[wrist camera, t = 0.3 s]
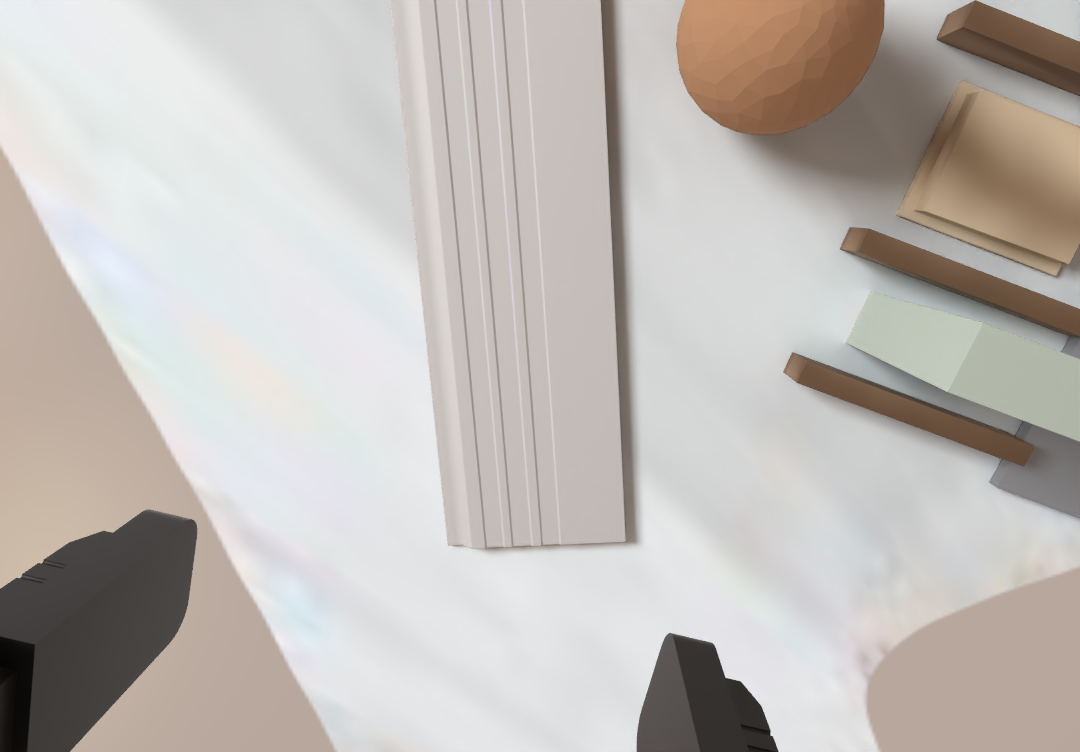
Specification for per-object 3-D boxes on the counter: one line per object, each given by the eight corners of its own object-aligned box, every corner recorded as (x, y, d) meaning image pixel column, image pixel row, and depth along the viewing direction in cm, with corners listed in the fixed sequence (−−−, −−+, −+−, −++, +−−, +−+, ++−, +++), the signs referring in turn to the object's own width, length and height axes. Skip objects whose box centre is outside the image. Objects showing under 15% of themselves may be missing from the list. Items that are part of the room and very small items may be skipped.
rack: (947, 14, 36) (975, 0, 33) (1184, 108, 36) (1229, 101, 34) (783, 372, 40) (797, 382, 38) (996, 451, 41) (1024, 466, 38)
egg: (658, 143, 38) (694, 115, 27) (668, -32, 36) (711, -139, 25) (819, 146, 37) (922, 119, 26) (838, -31, 35) (957, -138, 24)
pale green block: (870, 291, 39) (983, 322, 28) (1005, 342, 39) (1168, 392, 28) (845, 342, 40) (947, 392, 29) (978, 392, 40) (1128, 459, 29)
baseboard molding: (426, 539, 44) (624, 530, 43) (417, 562, 41) (628, 552, 40) (363, -18, 37) (597, -38, 36) (347, -36, 34) (600, -59, 34)
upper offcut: (967, 94, 36) (980, 90, 35) (1113, 149, 36) (1131, 147, 35) (913, 210, 37) (924, 210, 36) (1053, 262, 38) (1069, 264, 37)
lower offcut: (951, 84, 37) (963, 80, 36) (1108, 147, 38) (1126, 145, 36) (889, 215, 39) (899, 215, 38) (1041, 273, 39) (1056, 275, 38)
